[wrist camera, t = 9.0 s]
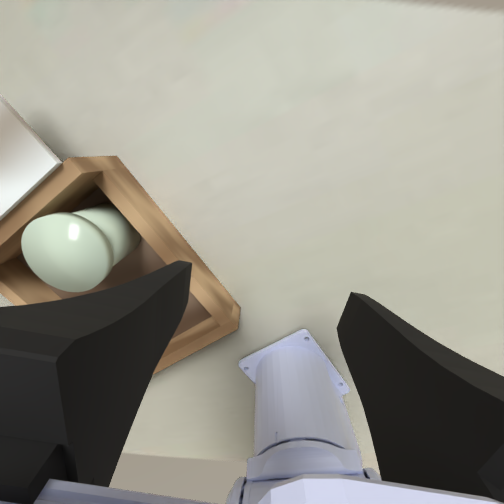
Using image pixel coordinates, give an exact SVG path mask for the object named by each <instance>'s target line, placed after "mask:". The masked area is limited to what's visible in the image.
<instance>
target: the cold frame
mask: <svg viewBox="0 0 504 504" xmlns="http://www.w3.org/2000/svg"><path fill="white" fill-rule="evenodd" d="M101 203H113V204H114V205H115V206H116V207H117V208H118V209H119V211H120V212H121V213H122V214H123V215H124V216H125V217H126V218H127V220H128V221H129V222H130V223H131V224H132V225H133V226H134V228H135V229H136V230H137V231H138V232H139V233H140V234H141V240H140V243H139V245H138V246H137V248H136V249H135V250H133V251H132V252H131V253H130V254H128V255H127V256H126V257H125V258H123V259H122V260H121V261H119V262H118V263H117V264H116V265H114V266H113V267H112V270H111V272H110V273H109V275H108V276H107V277H106V278H105V279H104V280H103V281H101V282H100V283H99V284H98V285H96V286H95V287H94V288H92V289H90V290H87V291H84V292H67V291H63V290H60V289H57V288H55V287H53V286H51V285H49V284H47V283H46V282H44V281H43V280H42V279H41V278H39V277H38V276H37V275H36V274H35V273H34V272H33V270H32V269H31V268H30V266H29V265H28V263H27V262H26V260H25V257H24V255H23V251H22V245H21V240H22V235H23V232H24V230H25V228H26V227H27V226H28V224H29V223H31V222H32V221H33V220H35V219H37V218H40V217H43V216H47V215H50V214H53V213H59V212H67V213H73V212H76V211H79V210H82V209H85V208H89V207H92V206H95V205H98V204H101ZM178 260H181V261H186V262H191V263H192V271H191V281H190V290H189V299H188V304H187V306H186V309H185V312H184V314H183V317H182V320H181V322H180V324H179V326H178V327H177V329H176V331H175V333H174V335H173V337H172V339H171V340H170V342H169V344H168V346H167V348H166V350H165V351H164V353H163V355H162V357H161V359H160V361H159V362H158V364H157V366H156V368H155V371H154V373H153V374H155V373H157V372H159V371H161V370H163V369H164V368H166V367H168V366H170V365H172V364H174V363H176V362H177V361H179V360H181V359H183V358H185V357H187V356H189V355H190V354H192V353H194V352H196V351H198V350H200V349H202V348H203V347H205V346H207V345H209V344H211V343H213V342H215V341H216V340H218V339H220V338H222V337H224V336H226V335H228V334H229V333H231V332H233V331H235V330H237V329H238V323H239V316H240V306H239V305H238V304H237V303H236V301H235V300H234V299H233V298H232V297H231V295H230V294H229V293H228V292H227V290H226V289H225V288H224V287H223V286H222V284H221V283H220V282H219V281H218V279H217V278H216V277H215V276H214V275H213V273H212V272H211V271H210V270H209V268H208V267H207V266H206V265H205V263H204V262H203V261H202V260H201V259H200V257H199V256H198V255H197V254H196V252H195V251H194V250H193V249H192V248H191V246H190V245H189V244H188V243H187V241H186V240H185V239H184V238H183V237H182V235H181V234H180V233H179V232H178V230H177V229H176V228H175V227H174V226H173V224H172V223H171V222H170V221H169V219H168V218H167V217H166V216H165V215H164V213H163V212H162V211H161V210H160V208H159V207H158V206H157V205H156V203H155V202H154V201H153V200H152V199H151V197H150V196H149V195H148V194H147V192H146V191H145V190H144V189H143V188H142V186H141V185H140V184H139V183H138V181H137V180H136V179H135V178H134V177H133V175H132V174H131V173H130V172H129V170H128V169H127V168H126V167H125V166H124V164H123V163H122V162H121V161H120V159H119V158H118V157H117V156H98V157H71V158H67V159H66V160H65V161H64V162H63V163H62V162H61V161H60V159H59V158H58V157H57V156H56V155H55V154H54V153H53V152H52V151H51V149H50V148H49V147H48V146H47V145H46V144H45V143H44V142H43V141H42V139H41V138H40V137H39V136H38V135H37V134H36V133H35V132H34V130H33V129H32V128H31V127H30V126H29V125H28V124H27V123H26V122H25V120H24V119H23V118H22V117H21V116H20V115H19V114H18V113H17V112H16V110H15V109H14V108H13V107H12V106H11V105H10V104H9V103H8V101H7V100H6V99H5V98H4V97H3V96H2V95H1V94H0V293H1V294H2V295H3V296H4V297H6V298H7V299H8V300H9V301H10V302H12V303H13V304H14V305H15V306H19V305H27V304H35V303H42V302H49V301H55V300H61V299H66V298H71V297H76V296H80V295H85V294H89V293H94V292H98V291H101V290H105V289H108V288H112V287H115V286H118V285H121V284H124V283H127V282H129V281H132V280H134V279H137V278H139V277H142V276H144V275H147V274H149V273H151V272H153V271H156V270H158V269H160V268H162V267H164V266H166V265H168V264H171V263H173V262H175V261H178Z"/></svg>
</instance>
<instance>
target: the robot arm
mask: <svg viewBox="0 0 504 504" xmlns="http://www.w3.org/2000/svg"><path fill="white" fill-rule="evenodd" d="M191 271H192V263H191V262H186V261H181V260H178V261H175V262H173V263H171V264H168V265H166V266H164V267H162V268H160V269H158V270H156V271H153V272H151V273H149V274H147V275H144V276H142V277H139V278H137V279H134V280H132V281H129V282H127V283H124V284H121V285H118V286H115V287H112V288H108V289H105V290H101V291H98V292H94V293H89V294H85V295H80V296H76V297H71V298H66V299H61V300H55V301H49V302H42V303H35V304H27V305H19V306H8V307H0V504H216V503H210V502H203V501H196V500H189V499H183V498H176V497H169V496H162V495H156V494H149V493H142V492H136V491H129V490H122V489H115V488H109V484H110V482H111V479H112V476H113V473H114V471H115V468H116V465H117V462H118V460H119V457H120V455H121V452H122V450H123V447H124V444H125V442H126V439H127V437H128V434H129V431H130V429H131V426H132V424H133V421H134V419H135V416H136V414H137V411H138V409H139V406H140V404H141V401H142V399H143V396H144V394H145V392H146V389H147V387H148V384H149V382H150V380H151V377H152V375H153V373H154V371H155V368H156V366H157V364H158V362H159V361H160V359H161V357H162V355H163V353H164V351H165V350H166V348H167V346H168V344H169V342H170V340H171V339H172V337H173V335H174V333H175V331H176V329H177V327H178V326H179V324H180V322H181V320H182V317H183V314H184V312H185V309H186V306H187V304H188V299H189V290H190V281H191ZM337 332H338V337H339V342H340V346H341V349H342V352H343V355H344V358H345V360H346V363H347V365H348V368H349V371H350V373H351V376H352V378H353V381H354V383H355V386H356V389H357V391H358V394H359V396H360V399H361V402H362V405H363V408H364V411H365V415H366V418H367V422H368V426H369V429H370V433H371V437H372V441H373V445H374V449H375V453H376V457H377V461H378V465H379V470H380V475H381V477H380V476H379V475H378V474H377V472H376V471H375V470H374V469H373V468H365V469H362V456H361V452H360V449H359V446H358V443H357V440H356V437H355V434H354V430H353V427H352V424H351V421H350V418H349V415H348V412H347V409H346V406H345V403H344V400H343V397H342V395H344V394H347V393H348V392H349V391H350V389H349V386H348V385H347V383H346V382H345V381H344V379H343V378H342V377H341V375H340V374H339V372H338V371H337V370H336V368H335V367H334V366H333V364H332V363H331V362H330V360H329V359H328V357H327V356H326V355H325V353H324V352H323V351H322V349H321V348H320V346H319V345H318V344H317V342H316V341H315V340H314V338H313V337H312V336H311V334H310V333H309V331H308V330H306V329H301V330H299V331H297V332H295V333H293V334H291V335H289V336H287V337H285V338H283V339H281V340H279V341H277V342H275V343H273V344H271V345H269V346H267V347H265V348H263V349H261V350H259V351H257V352H255V353H253V354H251V355H249V356H247V357H245V358H243V359H241V360H240V361H239V367H240V368H241V370H242V371H243V372H244V373H245V374H246V375H247V376H248V377H249V378H250V379H251V381H252V382H253V383H254V384H255V422H254V457H251V458H248V459H247V477H239V478H238V479H237V480H236V482H235V484H234V486H233V488H232V489H231V491H230V492H229V494H228V497H227V500H226V504H504V377H503V376H501V375H499V374H497V373H495V372H493V371H491V370H489V369H487V368H485V367H483V366H481V365H479V364H477V363H475V362H473V361H471V360H469V359H467V358H465V357H463V356H461V355H460V354H458V353H456V352H454V351H452V350H451V349H449V348H447V347H445V346H443V345H442V344H440V343H438V342H437V341H435V340H433V339H432V338H430V337H429V336H427V335H426V334H424V333H422V332H421V331H419V330H418V329H416V328H415V327H413V326H412V325H410V324H409V323H407V322H406V321H404V320H403V319H401V318H400V317H398V316H397V315H395V314H394V313H393V312H391V311H390V310H388V309H387V308H385V307H384V306H382V305H381V304H380V303H378V302H376V301H375V300H373V299H372V298H370V297H368V296H366V295H364V294H359V293H354V292H351V293H350V296H349V298H348V301H347V303H346V306H345V308H344V311H343V313H342V316H341V319H340V321H339V324H338V326H337ZM305 337H308V338H305ZM246 367H247V368H246Z"/></svg>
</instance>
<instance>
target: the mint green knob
mask: <svg viewBox="0 0 504 504" xmlns="http://www.w3.org/2000/svg"><path fill="white" fill-rule="evenodd" d="M140 240H141V234H140V233H139V232H138V231H137V230H136V229H135V228H134V226H133V225H132V224H131V223H130V222H129V221H128V220H127V218H126V217H125V216H124V215H123V214H122V213H121V212H120V211H119V209H118V208H117V207H116V206H115V205H114V204H113V203H101V204H98V205H95V206H92V207H89V208H85V209H82V210H79V211H76V212H73V213H67V212H59V213H53V214H50V215H47V216H43V217H40V218H37V219H35V220H33V221H32V222H31V223H29V224H28V226H27V227H26V228H25V230H24V232H23V235H22V240H21V245H22V251H23V255H24V257H25V260H26V262H27V263H28V265H29V266H30V268H31V269H32V270H33V272H34V273H35V274H36V275H37V276H38V277H39V278H41V279H42V280H43V281H44V282H46V283H47V284H49V285H51V286H53V287H55V288H57V289H60V290H63V291H67V292H84V291H87V290H90V289H92V288H94V287H95V286H96V285H98V284H99V283H100V282H101V281H103V280H104V279H105V278H106V277H107V276H108V275H109V273H110V272H111V270H112V267H113V266H114V265H116V264H117V263H118V262H119V261H121V260H122V259H123V258H125V257H126V256H127V255H128V254H130V253H131V252H132V251H133V250H135V249H136V248H137V246H138V245H139V243H140Z"/></svg>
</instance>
